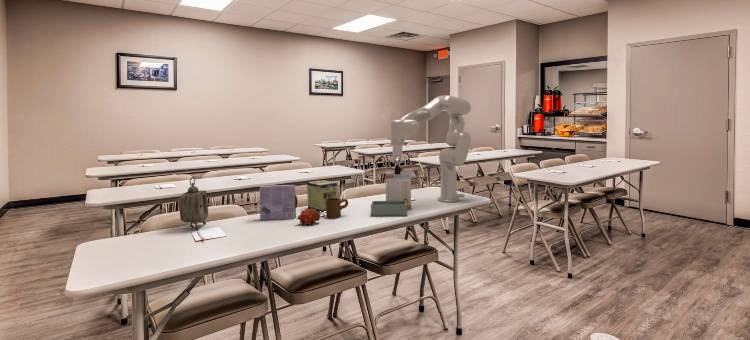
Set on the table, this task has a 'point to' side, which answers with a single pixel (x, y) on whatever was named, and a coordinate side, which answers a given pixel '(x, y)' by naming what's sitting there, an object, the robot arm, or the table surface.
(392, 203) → the tray
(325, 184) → the protein box
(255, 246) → the table surface
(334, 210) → the mug
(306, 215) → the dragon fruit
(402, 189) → the cracker box
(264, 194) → the cake pan box
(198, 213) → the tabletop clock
